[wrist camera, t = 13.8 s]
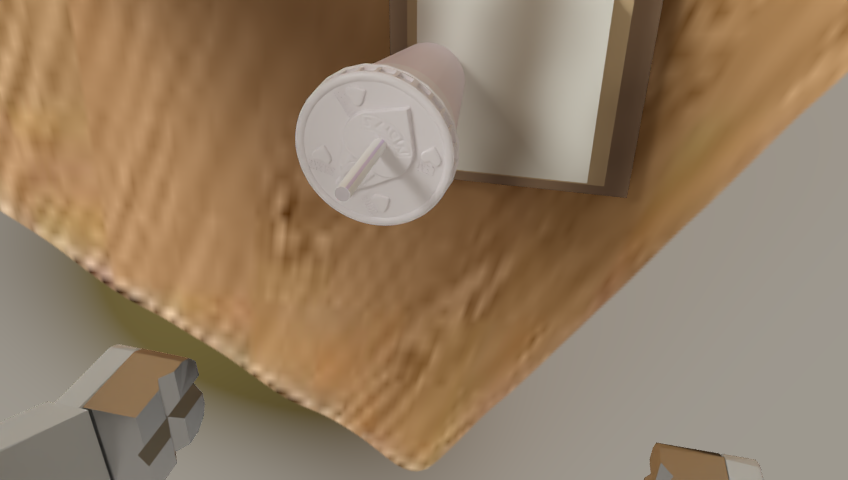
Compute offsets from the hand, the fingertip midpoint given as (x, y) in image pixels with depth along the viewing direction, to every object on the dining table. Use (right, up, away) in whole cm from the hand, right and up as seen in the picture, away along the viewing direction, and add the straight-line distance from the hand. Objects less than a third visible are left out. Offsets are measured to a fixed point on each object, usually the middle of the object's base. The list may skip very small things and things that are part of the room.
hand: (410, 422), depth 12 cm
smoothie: (0, +11, +22) cm, 25 cm away
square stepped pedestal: (+6, +13, +26) cm, 30 cm away
